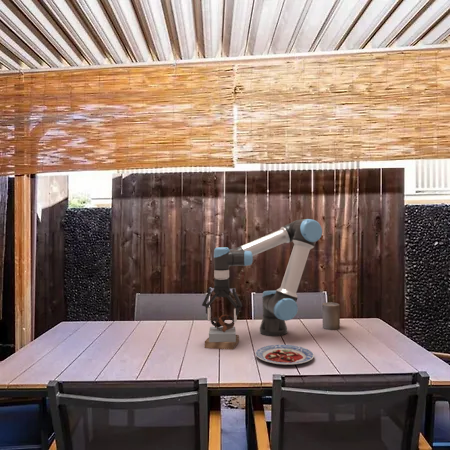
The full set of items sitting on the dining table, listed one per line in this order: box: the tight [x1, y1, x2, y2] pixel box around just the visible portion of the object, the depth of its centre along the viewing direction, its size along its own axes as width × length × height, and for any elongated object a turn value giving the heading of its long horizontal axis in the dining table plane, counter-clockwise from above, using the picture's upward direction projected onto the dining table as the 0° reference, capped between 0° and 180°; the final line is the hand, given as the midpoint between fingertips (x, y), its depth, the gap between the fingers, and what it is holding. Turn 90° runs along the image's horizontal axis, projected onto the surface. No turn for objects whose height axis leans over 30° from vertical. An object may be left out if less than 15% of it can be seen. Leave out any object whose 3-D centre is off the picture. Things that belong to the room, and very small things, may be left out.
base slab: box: [204, 334, 240, 351], centre depth 193 cm, size 14×14×4 cm
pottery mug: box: [210, 314, 236, 332], centre depth 193 cm, size 12×10×8 cm
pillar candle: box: [321, 301, 341, 331], centre depth 221 cm, size 10×10×15 cm
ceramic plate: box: [254, 344, 315, 366], centre depth 172 cm, size 26×26×3 cm
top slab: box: [208, 326, 237, 342], centre depth 193 cm, size 13×13×4 cm
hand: (222, 320), depth 193 cm, fingers open, 13 cm apart
